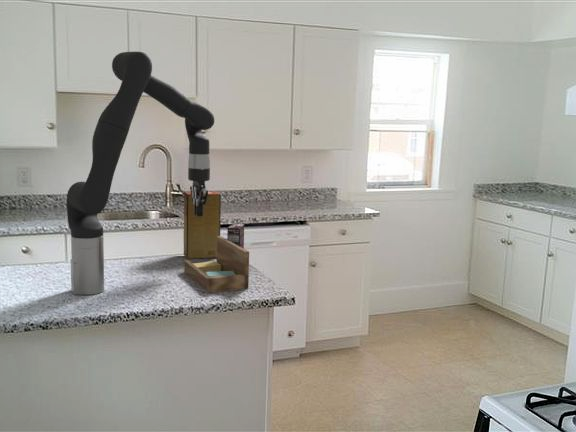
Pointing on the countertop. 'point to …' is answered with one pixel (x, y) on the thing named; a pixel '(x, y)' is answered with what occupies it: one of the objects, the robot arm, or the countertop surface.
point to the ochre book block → (208, 266)
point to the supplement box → (236, 234)
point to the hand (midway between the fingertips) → (198, 215)
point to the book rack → (224, 268)
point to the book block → (220, 273)
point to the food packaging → (202, 227)
